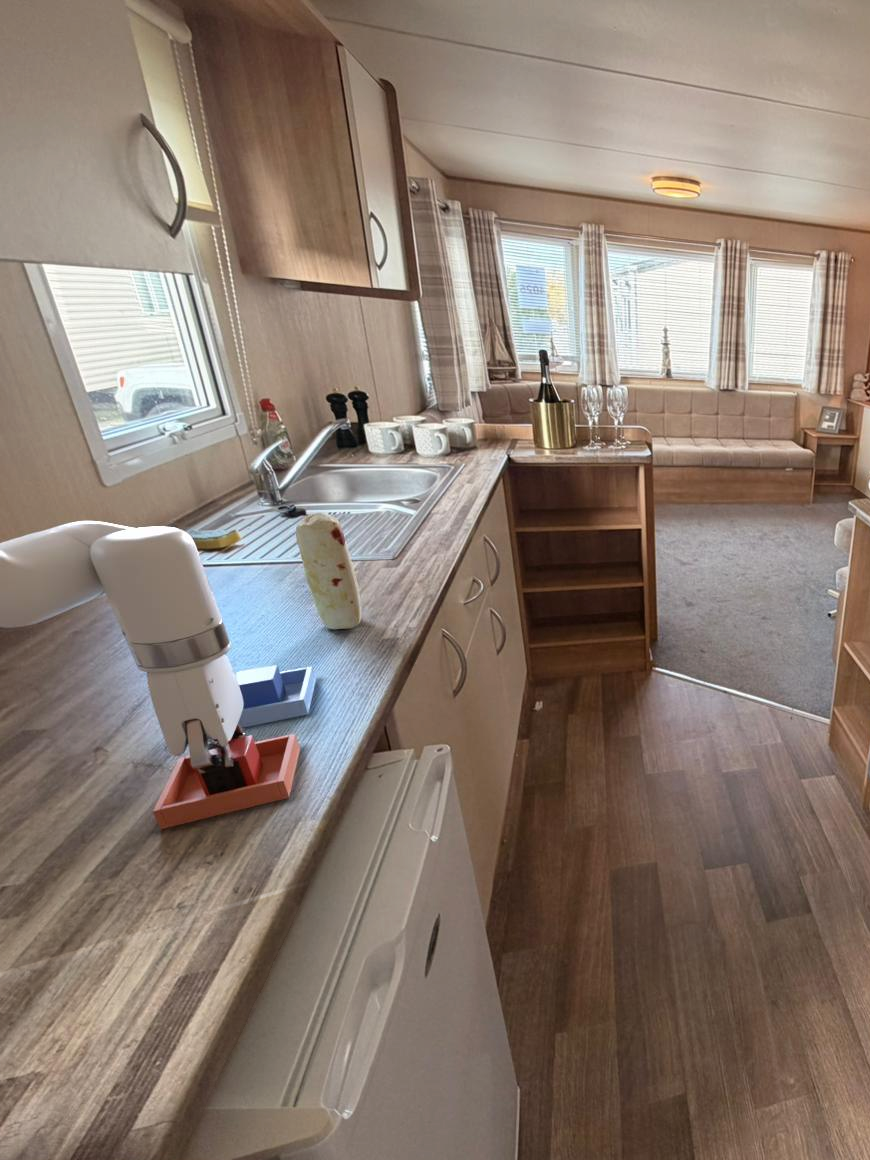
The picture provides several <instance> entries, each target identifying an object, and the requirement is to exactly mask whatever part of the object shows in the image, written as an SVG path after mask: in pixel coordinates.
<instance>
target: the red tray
mask: <svg viewBox="0 0 870 1160" xmlns="http://www.w3.org/2000/svg"><path fill="white" fill-rule="evenodd" d="M255 744H256V747H257V749H258V752H259V755H260V758H261V760H262V763H263V767H262V770H261V774H260V777H259V780H258V783H257V784H256V785H251V786H247V787H243V788H239V789H234V790H230V791H226V792H222V793H217V794H213V795H209V796H206V795H205V793H204V790H203V788H202V786H201V783H200V781H199V778H198V776H197V774H196V771H195V769H194V768H192V766H191V760H190V755H186V756H179V757H178V758H177V761H176V763H175V765H174V767H173V769H172V771H171V772H170V775H169V777H168V779H167V781H166V783H165V786H164V787H163V789H162V791H161V794H160V796H159V798H158V800H157V801H156V804H155V806H154V807H153V810H152V814H153V816H154V819H155V820H156V822H157V825H158V826H159V828H160V830H164V829H168V828H172V827H176V826H180V825H184V824H188V823H193V822H196V821H200V820H204V819H205V820H206V819H209V818H212V817H215V816H220V815H225V814H229V813H232V812H233V813H234V812H237V811H241V810H245V809H248V808H254V807H257V806H260V805H265V804H269V803H273V802H277V801H282V800H284V799H285V800H286V799H289V798H290V795H291V791H292V787H293V783H294V779H295V775H296V770H297V766H298V761H299V757H300V752H301V748H300V744H299V741H298V738H297V735H296V733H290V734H287V735H286V734H285V735H282V736H277V737H271V738H268V739H262V740H258V741H255Z"/></svg>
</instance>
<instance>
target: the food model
mask: <svg viewBox="0 0 870 1160" xmlns="http://www.w3.org/2000/svg"><path fill="white" fill-rule="evenodd" d="M342 528H343V527H342V526H341V523H340V522H339V520H338V519H337V518H336V517H334V515H331V514H327V513H324V512H316V513H312V514H309V515H306V516H305V517H304V518H303V519H302V521H301V525H299V524H296V525H295V532H294V533H295V538H296V543H297V546H298V549H299V553H300V557H301V558H300V559H301V562H302V565H303V569H304V573H305V576H306V580H307V583H308V586H309V589H310V592H311V595H312V599H313V602H314V605H315V607H316V610H317V614H318V616H319V619H320V621H321V622H322V624H323V625H324V627H326V628H327V629H329V630H343V629H345V630H346V629H347V630H348V629H353V628H354V627H357V626H358V625H359V624H360V623H361V620H362V607H361V605H362V604H361V595H360V589H359V584H358V579H357V576H356V575H357V574H356V571H355V569H354V564H353V562H352V558H351V555H350V550H349V547H348V543H347V540H346V538H345V535H344V532H343V529H342Z"/></svg>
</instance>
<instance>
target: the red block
mask: <svg viewBox="0 0 870 1160" xmlns="http://www.w3.org/2000/svg"><path fill="white" fill-rule="evenodd" d="M244 736H245V737H243V736H240V738H235V739H231V740H230V741H229V742H228V743H229V747H230V750H231V754H232V757H233V762H234V761H238V763H239V765H240V768H241V770H242V773H243V776H244V778H245V781H246V783H247V786H251V785H256V784H257V783H258V780H259V777H260V774H261V770H262V767H263V763H262V760H261V758H260V755H259V752H258V749H257V747H256V744H255V742H256V741H255V739H254V735H252V734H250V735H244ZM209 752H210V754H212V755H215V754H218V755H220V756H222V755H221V751H220V748H216V749H212V750H209ZM194 769H195V768H194ZM195 771H196V774H197V776H198V778H199V781H200V783H201V786H202V788H203V790H204V793H205V795H206V796H209V795H210V794H209V792H208V790H207V787H206V785H205V782H204V780H203V778H202V775H201V774H200V773H199V771H198V769H195Z"/></svg>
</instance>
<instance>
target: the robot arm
mask: <svg viewBox="0 0 870 1160" xmlns="http://www.w3.org/2000/svg"><path fill="white" fill-rule="evenodd" d="M104 596H106V597H107V600H108V602H109V604H110V606H111V609H112V611H113V614H114V616H115V618H116V620H117V624H118V626H119V628H120V630H121V632H122V635H123V637H124V640H125V641H126V643H127V645H128V648H129V650H130V653H131V656H132V657H133V659H134V662H135V665H136V666H137V669H138V670H139V671H141V672H145V673H146V682H147V686H148V692H149V695H150V699H151V703H152V706H153V709H154V713H155V715H156V718H157V722H158V724H159V727H160V730H161V732H162V736H163V739H164V741H165V744H166V747H167V750H168V751H169V753H170V754H171V755H172V756H174V757H180V756H181V755H184V754H185V752H186V749H187V748H188V751H189V756H190V760H191V766H192V768H195V769H198V771H199V773H200V774H201V775H202V778H203V780H204V782H205V785H206V787H207V790H208V792H209V794H210V795H213V794H217V793H222V792H226V791H230V790H234V789H239V788H243V787H247V783H246V781H245V778H244V776H243V773H242V770H241V768H240V765H239V763H238V761H234V762H233V757H232V754H231V750H230V747H229V743H228V742H229V741H230V740H231V739H235V738H240V737H245V736H246V729H245V727H244V726H243V724H242V722H241V720H240V716H241V713H242V710H243V697H242V694H241V690H240V687H239V684H238V682H237V679H236V674H235V671H234V669H233V666H232V664H231V663H230V660H229V657H228V655H227V653H229V652H230V651H231V649H232V642H231V640H230V637H229V635H228V632H227V629H226V625H225V623H224V621H223V617H222V614H221V612H220V610H219V606H218V603H217V601H216V598H215V595H214V593H213V589H212V587H211V584H210V581H209V579H208V576H207V573H206V571H205V568H204V565H203V562H202V559H201V556H200V554H199V550H198V548H197V545H196V543H195V541H194V539H193V538H192V536H191V535H190V534H189V533H188V532H186V531H185V530H183V529H181V528H180V529H179V528H177V527H171V526H145V527H137V528H136V527H131V526H125V525H120V524H114V523H109V522H104V521H95V520H79V521H72V522H67V523H64V524H60V525H57V526H53V527H51V528H47V529H44V530H40V531H37V532H32V533H29V534H25V535H21V536H19V537H16V538H15V537H14V538H12V539H8V540H6V541H2V542H0V628H21V627H27V626H31V625H35V624H38V623H41V622H43V621H47V620H48V619H51V618H53V617H55V616H58V615H61V614H62V613H65V612H67V611H69V610H71V609H73V608H76V607H79V606H81V605H83V604H85V603H88V602H90V601H93V600H96V599H98V598H103V597H104ZM210 739H212V741H208V740H210ZM216 748H220V751H221V755H222V756H220V755H218V754H215V755H212V754H210V752H209V750H212V749H216Z"/></svg>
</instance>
